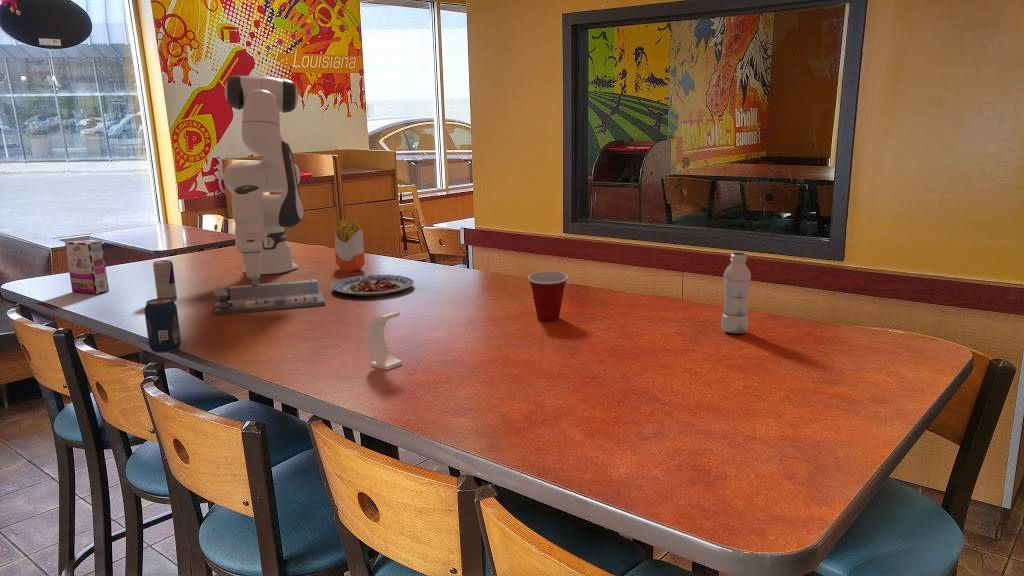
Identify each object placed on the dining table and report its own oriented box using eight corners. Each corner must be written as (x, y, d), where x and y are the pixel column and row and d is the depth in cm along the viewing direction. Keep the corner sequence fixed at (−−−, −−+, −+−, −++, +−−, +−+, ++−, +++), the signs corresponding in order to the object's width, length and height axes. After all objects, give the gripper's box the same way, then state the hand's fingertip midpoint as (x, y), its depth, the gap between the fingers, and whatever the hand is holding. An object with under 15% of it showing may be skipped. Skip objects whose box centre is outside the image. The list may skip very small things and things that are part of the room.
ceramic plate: (406, 278, 245) (406, 269, 245) (421, 295, 221) (421, 286, 221) (328, 284, 237) (328, 275, 237) (335, 303, 214) (335, 293, 213)
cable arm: (215, 298, 210) (214, 286, 209) (317, 290, 218) (316, 279, 217) (214, 302, 206) (213, 290, 205) (318, 293, 214) (317, 282, 213)
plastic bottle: (734, 338, 175) (739, 257, 171) (714, 331, 181) (718, 252, 177) (753, 334, 178) (759, 254, 174) (733, 327, 184) (738, 250, 180)
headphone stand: (387, 370, 156) (384, 317, 153) (367, 365, 160) (364, 312, 157) (402, 364, 160) (399, 312, 157) (382, 359, 163) (379, 308, 160)
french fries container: (355, 272, 254) (351, 222, 249) (335, 269, 260) (332, 219, 256) (365, 270, 257) (362, 220, 253) (345, 267, 264) (342, 218, 260)
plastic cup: (522, 322, 191) (521, 278, 188) (535, 311, 201) (534, 269, 198) (561, 325, 187) (561, 280, 185) (572, 315, 197) (573, 272, 194)
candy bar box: (110, 291, 231) (102, 241, 227) (96, 295, 226) (88, 243, 222) (85, 288, 235) (77, 239, 231) (71, 292, 230) (63, 241, 227)
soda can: (150, 347, 174) (144, 299, 171) (182, 343, 177) (176, 295, 174) (149, 355, 168) (142, 305, 165) (181, 351, 170) (175, 302, 168)
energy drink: (180, 298, 221) (175, 259, 218) (170, 302, 216) (166, 263, 213) (164, 298, 221) (159, 259, 219) (154, 302, 216) (148, 263, 213)
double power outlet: (216, 303, 215) (215, 295, 214) (322, 294, 224) (321, 287, 223) (213, 315, 202) (212, 307, 201) (325, 305, 211) (324, 297, 210)
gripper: (241, 236, 221) (245, 280, 224) (238, 247, 202) (243, 295, 206) (263, 235, 223) (267, 279, 226) (262, 246, 204) (266, 293, 207)
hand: (255, 287), depth 216 cm, fingers closed
